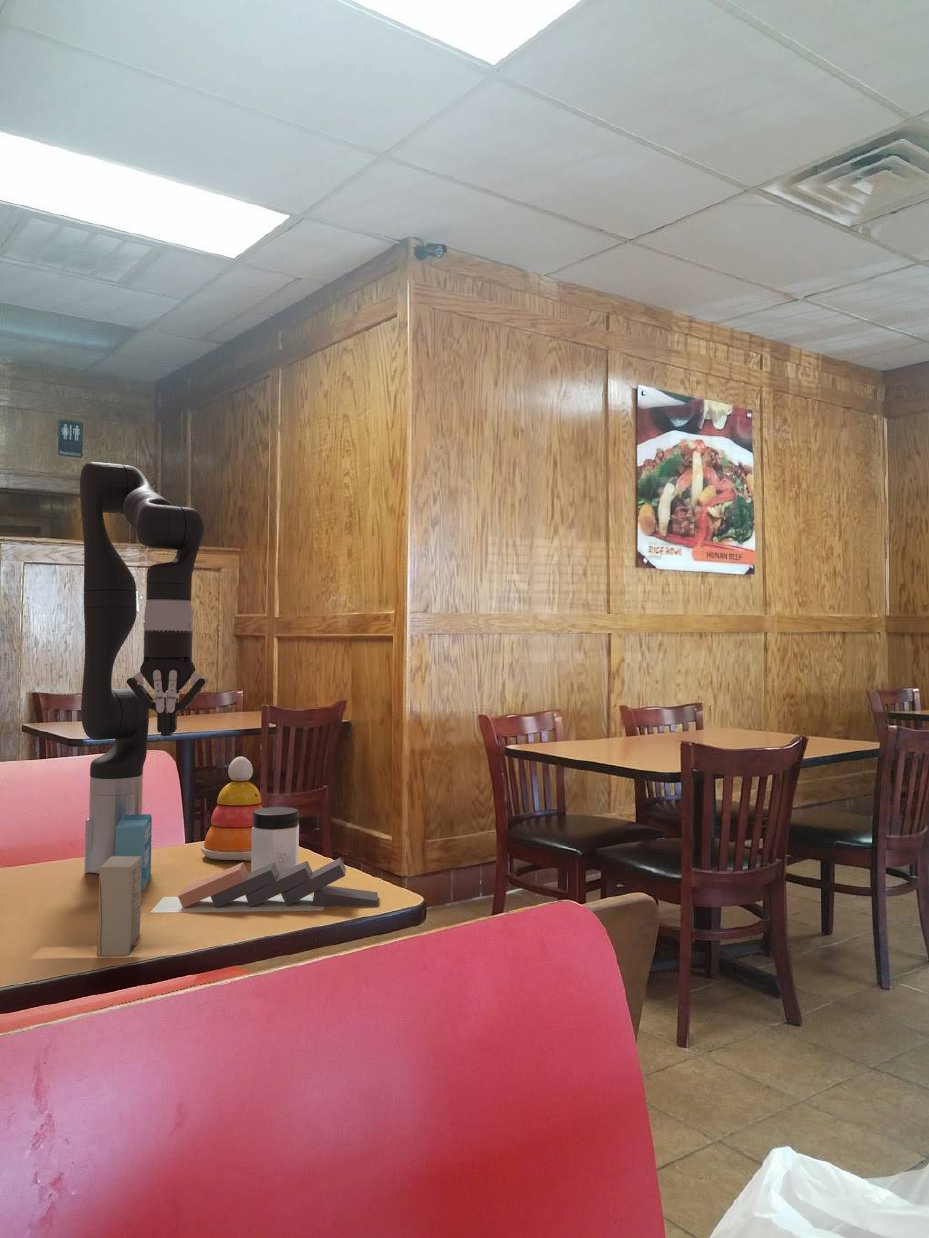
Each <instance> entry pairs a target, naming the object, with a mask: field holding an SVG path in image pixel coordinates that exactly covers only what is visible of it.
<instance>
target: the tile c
mask: <svg viewBox="0 0 929 1238" xmlns="http://www.w3.org/2000/svg"><path fill="white" fill-rule="evenodd" d="M312 872H313V870H312V868H311V866H310V863H309V861H308V860H305V861H304V862H301V863H298V865H297V866H295V867H293V868H290V869H288V870H286V871H284V872H282V873H280V874H279V876H278V878H277V880H276V882H274V883H271V884H269V885H267V886H265V887H262V888H260V889H258V890H255V891H253V892H251V893H249V894H246V895H245V896H246V898H247V901H248V903H249V905H250V907H253V906H255V905H257V904H259V903H261V902H264V901H266V900H268V899H270V898H272V897H274V896H276V895H280V894H282V893H283V892H285V891H287V890H289V889H291V888H293V887H296V886H298V885H300V884H302V883H304V882H306V881H308V880H310V879H311V875H312Z"/></svg>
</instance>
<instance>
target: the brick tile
mask: <svg viewBox="0 0 929 1238" xmlns="http://www.w3.org/2000/svg"><path fill="white" fill-rule="evenodd" d="M248 874H249V872H248V869H247V867H246V865H245V863H244V862H241V863H238V864H236V865H234V866H231V867H229V868H227V869H225V870H223V871H220V872H217V873H215V874H213V875H210V876H208V877H207V878H203V879H201V880H199V881H196V882H194V883H192V884H191V885H188V886H185V887H183V889H182V890H181V891H180V893H179V894H178V895H177V897H178V898H179V900H180V903H181V905H182V907H183V908H185V907H187V906H189V905H191V904H194V903H196V902H198V901H201V900H203V899H205V898H207V897H210V896H212V895H214V894H216V893H219V892H221V891H223V890H226V889H228V888H230V887H232V886H235V885H237V884H239V883H242V882H244V880H245V879H246V877H247V875H248Z"/></svg>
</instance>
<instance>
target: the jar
mask: <svg viewBox="0 0 929 1238" xmlns="http://www.w3.org/2000/svg"><path fill="white" fill-rule="evenodd" d="M299 822H300V811H299V809H297V808H295V807H294V808H293V807H287V806H286V807H285V806H271V807H269V806H268V807H263V808H261V809H257V810H255V811H253V828H252V844H251V861H250V862H251V863H250V873H251V872H253V871H255V870H258V869H260V868H262V867H265V866H267V865H269V864H271V863H274V862H275V865H276V867H277V869H278V872H279V874H280V873H282V872H284V871H286V870H288V869H290V868H293V867H295V866H297V865H299V860H300V859H299V856H300V855H299V849H300V845H299V844H300V843H299V842H300V841H299V840H300V823H299Z"/></svg>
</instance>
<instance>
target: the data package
mask: <svg viewBox="0 0 929 1238" xmlns="http://www.w3.org/2000/svg"><path fill="white" fill-rule="evenodd" d="M152 818H153V817H152V814H151V813H146V814H145V813H144V814H143V813H142V814H137V815H124V817H123V818H122V819H121V821H120V822H119V824H118V825H117V828H116V850H115V856H142V878H141V892H144V891H145V889H146V886H147V884H148V882H149V880H150V877H151V874H152V830H153V829H152V826H153V824H152V822H153V821H152Z"/></svg>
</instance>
